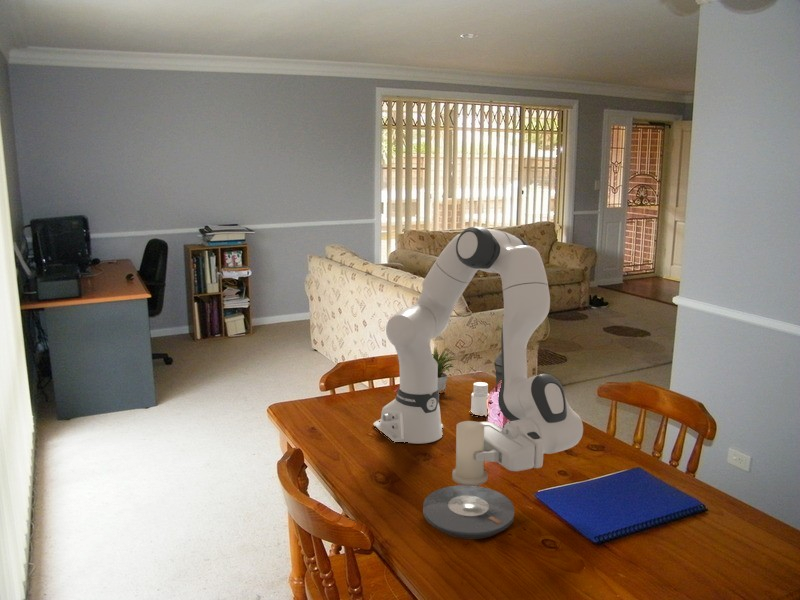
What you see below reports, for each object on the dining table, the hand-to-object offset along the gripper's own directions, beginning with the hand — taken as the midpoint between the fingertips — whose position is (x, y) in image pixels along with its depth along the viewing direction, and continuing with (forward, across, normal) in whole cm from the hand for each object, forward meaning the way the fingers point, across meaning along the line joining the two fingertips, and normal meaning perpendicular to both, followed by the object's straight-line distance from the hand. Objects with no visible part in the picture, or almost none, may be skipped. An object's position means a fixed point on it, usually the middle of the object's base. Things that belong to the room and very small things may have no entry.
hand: (466, 450), depth 140 cm
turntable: (-1, 0, +15) cm, 15 cm away
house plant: (-36, -80, +16) cm, 89 cm away
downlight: (-38, -56, +17) cm, 70 cm away
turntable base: (-1, 0, +16) cm, 16 cm away
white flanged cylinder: (-1, 0, +6) cm, 7 cm away
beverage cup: (-55, -67, +17) cm, 89 cm away
